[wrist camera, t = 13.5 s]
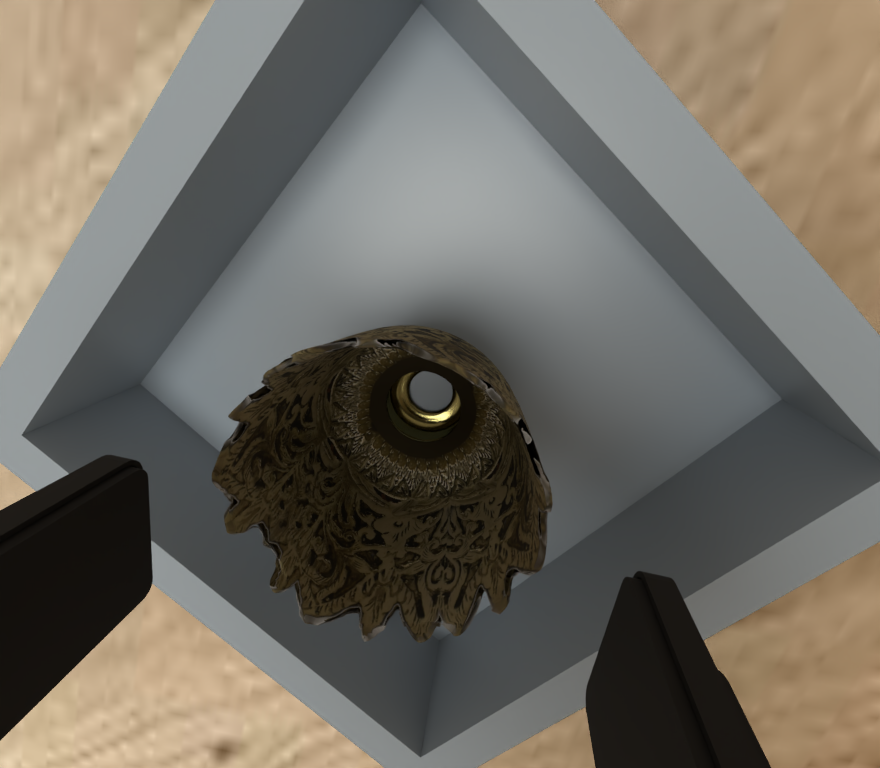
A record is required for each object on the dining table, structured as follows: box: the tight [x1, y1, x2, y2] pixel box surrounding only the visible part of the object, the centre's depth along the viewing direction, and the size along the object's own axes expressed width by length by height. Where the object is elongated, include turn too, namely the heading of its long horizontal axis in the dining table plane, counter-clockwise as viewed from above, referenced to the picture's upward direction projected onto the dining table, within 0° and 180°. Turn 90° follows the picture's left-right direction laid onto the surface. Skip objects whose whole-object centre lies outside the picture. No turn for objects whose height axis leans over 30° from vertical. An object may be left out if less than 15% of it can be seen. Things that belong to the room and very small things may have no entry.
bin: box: [0, 0, 880, 768], centre depth 16 cm, size 20×20×6 cm
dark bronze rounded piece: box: [212, 325, 553, 643], centre depth 14 cm, size 8×7×8 cm
